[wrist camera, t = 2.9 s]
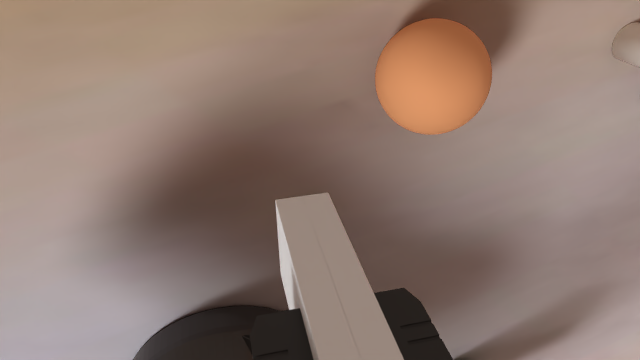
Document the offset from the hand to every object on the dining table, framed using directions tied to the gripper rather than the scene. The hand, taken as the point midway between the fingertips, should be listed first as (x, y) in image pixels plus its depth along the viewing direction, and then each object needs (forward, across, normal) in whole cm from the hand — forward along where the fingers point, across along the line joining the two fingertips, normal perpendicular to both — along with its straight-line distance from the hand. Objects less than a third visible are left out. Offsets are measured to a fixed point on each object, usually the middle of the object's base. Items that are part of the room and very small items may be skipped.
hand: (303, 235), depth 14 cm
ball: (+12, +9, 0) cm, 15 cm away
